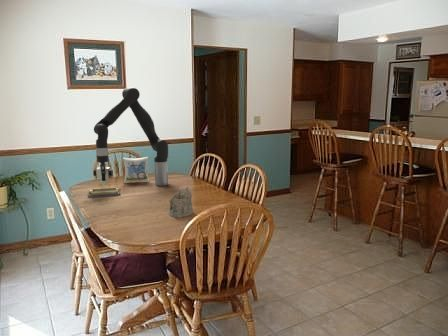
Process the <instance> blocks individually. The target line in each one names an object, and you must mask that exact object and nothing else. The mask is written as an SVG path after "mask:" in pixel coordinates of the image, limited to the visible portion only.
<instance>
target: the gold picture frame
mask: <svg viewBox="0 0 448 336" xmlns="http://www.w3.org/2000/svg"><path fill="white" fill-rule="evenodd" d="M115 196H116V197H117V196H118V197H119V196H122V195H121V188H118V187H117V186H115V187H102V188H91V189H90V190H88V195H87V197H88V199H90V198H101V197H102V198H104V197H115Z"/></svg>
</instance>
